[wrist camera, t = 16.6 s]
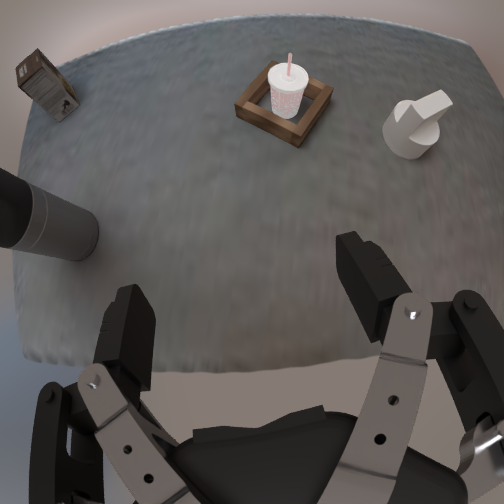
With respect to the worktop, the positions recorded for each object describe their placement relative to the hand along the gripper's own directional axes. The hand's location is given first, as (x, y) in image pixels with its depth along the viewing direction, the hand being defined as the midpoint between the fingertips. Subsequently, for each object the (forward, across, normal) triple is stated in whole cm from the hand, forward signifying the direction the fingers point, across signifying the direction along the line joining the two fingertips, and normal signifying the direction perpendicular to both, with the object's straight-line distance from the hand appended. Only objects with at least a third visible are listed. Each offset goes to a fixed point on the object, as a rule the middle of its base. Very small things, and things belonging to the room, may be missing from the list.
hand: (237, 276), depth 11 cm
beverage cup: (+43, -12, +3) cm, 44 cm away
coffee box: (+57, +33, -11) cm, 66 cm away
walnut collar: (+43, -12, +3) cm, 44 cm away
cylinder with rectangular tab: (+36, -32, +10) cm, 49 cm away
